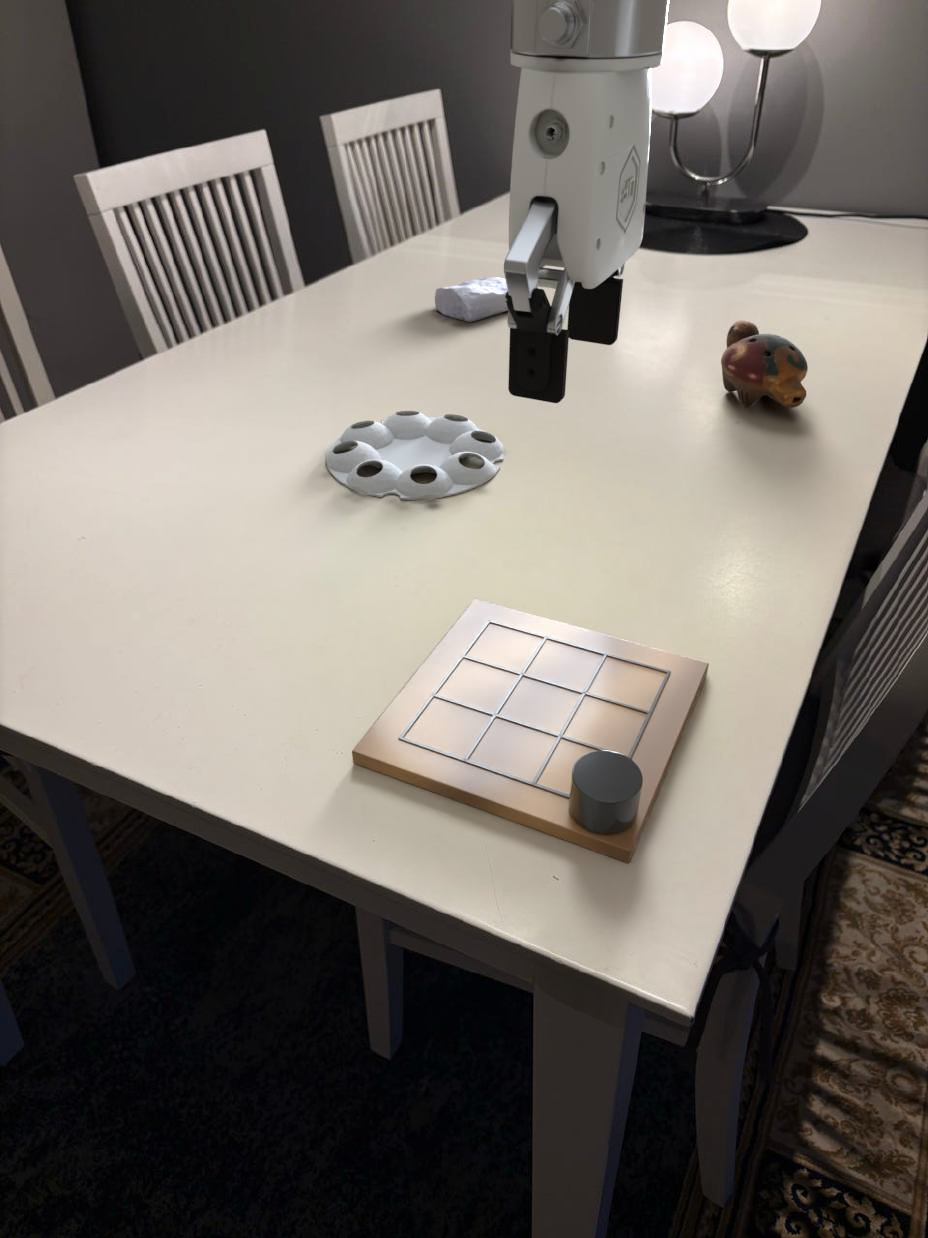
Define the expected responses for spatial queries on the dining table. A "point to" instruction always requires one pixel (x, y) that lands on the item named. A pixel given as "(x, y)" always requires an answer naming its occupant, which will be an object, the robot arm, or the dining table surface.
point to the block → (473, 299)
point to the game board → (533, 718)
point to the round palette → (414, 455)
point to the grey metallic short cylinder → (605, 792)
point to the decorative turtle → (762, 366)
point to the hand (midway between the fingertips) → (565, 367)
